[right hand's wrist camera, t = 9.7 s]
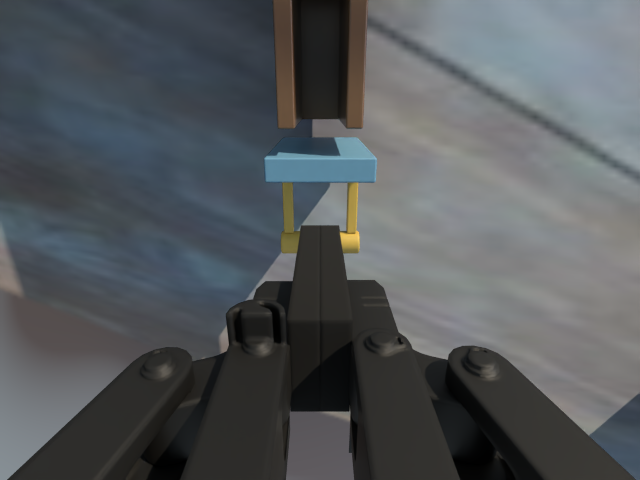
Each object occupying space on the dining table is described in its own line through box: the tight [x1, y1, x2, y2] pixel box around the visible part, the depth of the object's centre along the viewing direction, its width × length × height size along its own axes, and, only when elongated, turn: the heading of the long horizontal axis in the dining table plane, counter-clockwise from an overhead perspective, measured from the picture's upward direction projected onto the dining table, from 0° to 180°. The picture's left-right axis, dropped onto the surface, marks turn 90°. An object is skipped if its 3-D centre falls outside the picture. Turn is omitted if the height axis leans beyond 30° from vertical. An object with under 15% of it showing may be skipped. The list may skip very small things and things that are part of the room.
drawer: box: [264, 0, 377, 253], centre depth 20 cm, size 25×5×10 cm, turn 0°
